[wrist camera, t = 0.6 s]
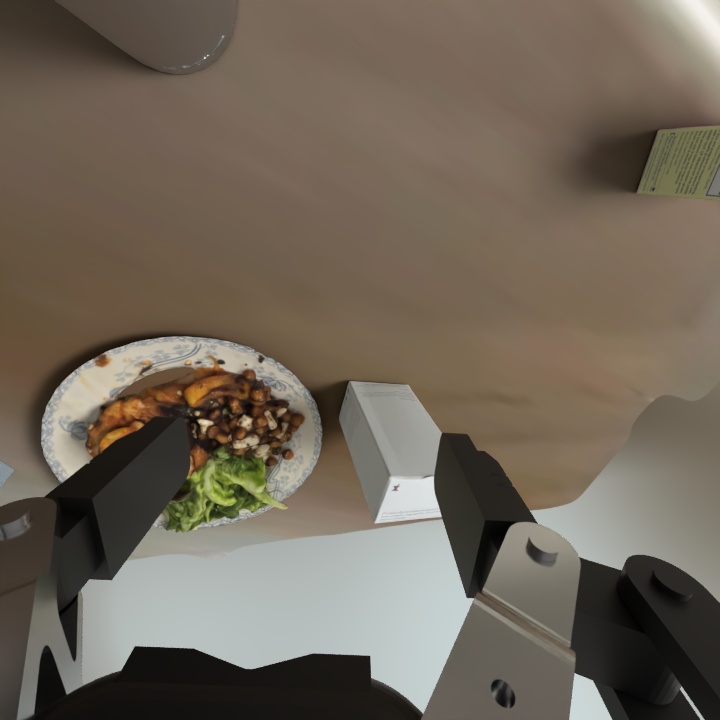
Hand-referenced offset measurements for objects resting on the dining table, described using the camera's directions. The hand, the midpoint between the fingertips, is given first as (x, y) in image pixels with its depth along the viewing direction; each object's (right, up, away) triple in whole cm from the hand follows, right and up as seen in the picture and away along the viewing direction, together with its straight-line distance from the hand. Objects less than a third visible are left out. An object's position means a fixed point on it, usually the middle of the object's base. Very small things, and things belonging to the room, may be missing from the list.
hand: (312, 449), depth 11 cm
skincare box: (+3, -2, +31) cm, 31 cm away
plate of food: (-17, -6, +28) cm, 34 cm away
